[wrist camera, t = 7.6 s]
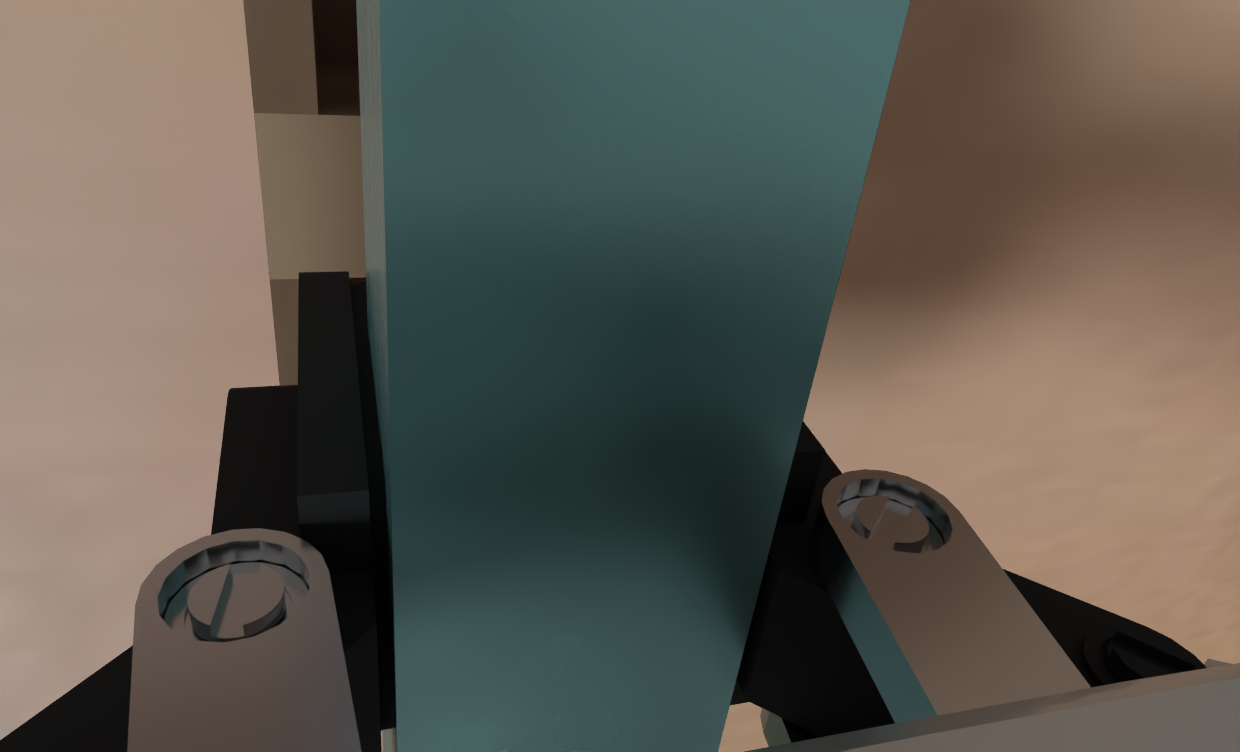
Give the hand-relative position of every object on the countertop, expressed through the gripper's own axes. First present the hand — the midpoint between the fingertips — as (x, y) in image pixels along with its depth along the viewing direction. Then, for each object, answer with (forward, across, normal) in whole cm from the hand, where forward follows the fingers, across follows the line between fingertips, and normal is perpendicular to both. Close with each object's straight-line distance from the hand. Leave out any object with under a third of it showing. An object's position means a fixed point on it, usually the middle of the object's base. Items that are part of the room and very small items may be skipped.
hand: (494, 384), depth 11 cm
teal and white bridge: (+4, 0, 0) cm, 4 cm away
